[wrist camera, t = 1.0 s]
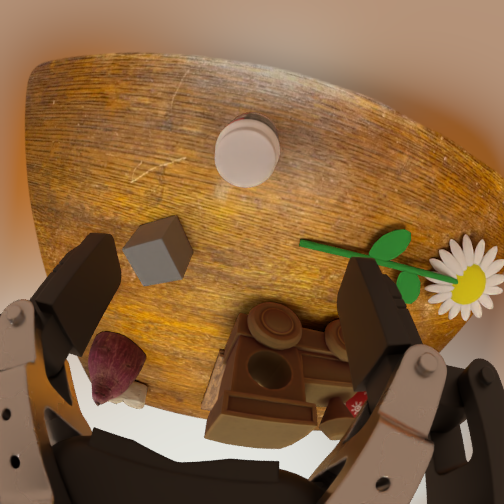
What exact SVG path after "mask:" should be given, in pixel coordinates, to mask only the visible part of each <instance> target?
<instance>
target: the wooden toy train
mask: <svg viewBox="0 0 504 504" xmlns="http://www.w3.org/2000/svg"><path fill="white" fill-rule="evenodd" d="M223 364H224V365H226V367H225V370H224V373H223V377H222V380H221V384H220V389H219V394H218V399H217V401H216V403H215V404H214V406H213V408H212V410H211V411H210V413H209V416H208V419H207V423H206V430H205V436H204V438H206V439H209V440H213V441H217V442H221V443H225V444H231V445H237V446H244V447H253V448H266V449H281V448H283V447H287V446H289V445H292V444H294V443H295V442H297V441H299V440H300V439H302V438H304V437H305V436H307V435H308V434H309V433H310V432H311V431H312V430H313V429H315V428H316V427H317V412H316V407H327V408H326V411H325V413H324V416H323V418H322V421H321V423H320V426H319V429H320V430H321V431H322V432H323V433H324V434H325V435H326V436H327V437H328V438H329V439H330V440H341V439H342V437H343V436H344V434H345V433H346V431H347V430H348V428H349V427H350V425H351V423H352V422H353V420H354V419H355V418H354V416H353V415H352V414H351V412H350V411H349V409H348V408H347V407H346V405H345V404H344V403H345V402H347V401H348V400H349V399H350V398H352V397H353V396H354V395H355V394H356V393H357V392H354V390H353V384H352V379H351V373H350V368H349V362H348V357H347V352H346V347H345V342H344V338H343V333H342V328H341V324H340V319H338V320H334V321H332V322H330V323H329V324H328V325H327V327H326V329H325V332H320V331H315V330H310V329H306V328H302V325H301V322H300V320H299V318H298V317H297V315H296V314H295V313H294V312H293V311H292V310H291V309H289V308H288V307H286V306H284V305H281V304H279V303H273V302H265V303H261V304H259V305H256V306H255V307H253V308H252V310H251V311H250V312H249V315H247V314H243V313H239V316H238V318H237V320H236V323H235V325H234V327H233V330H232V332H231V334H230V337H229V339H228V341H227V344H226V346H225V352H224V359H223ZM258 383H259V384H260V385H262V386H263V387H262V386H260V385H259V384H258Z"/></svg>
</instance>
